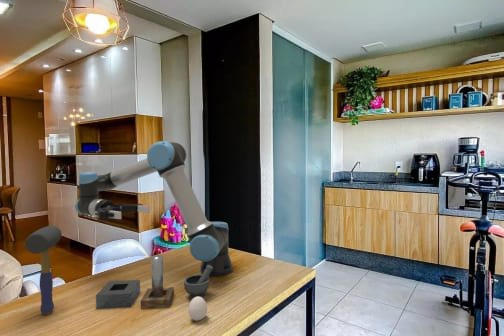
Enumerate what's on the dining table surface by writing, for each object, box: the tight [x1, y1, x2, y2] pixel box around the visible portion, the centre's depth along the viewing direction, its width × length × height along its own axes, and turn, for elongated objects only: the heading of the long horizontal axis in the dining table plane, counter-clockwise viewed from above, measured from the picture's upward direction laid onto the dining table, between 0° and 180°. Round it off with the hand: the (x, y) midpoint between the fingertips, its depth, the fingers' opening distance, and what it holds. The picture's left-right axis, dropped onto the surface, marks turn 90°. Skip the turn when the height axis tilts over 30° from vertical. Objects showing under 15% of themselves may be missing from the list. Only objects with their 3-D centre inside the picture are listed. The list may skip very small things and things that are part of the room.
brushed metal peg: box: [150, 254, 164, 298], centre depth 111 cm, size 4×4×16 cm
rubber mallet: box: [24, 225, 63, 315], centre depth 103 cm, size 12×8×30 cm, turn 13°
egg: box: [188, 296, 208, 321], centre depth 99 cm, size 6×6×8 cm
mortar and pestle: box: [183, 265, 213, 302], centre depth 115 cm, size 11×9×12 cm
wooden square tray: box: [140, 286, 175, 310], centre depth 111 cm, size 10×10×3 cm
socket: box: [95, 279, 141, 310], centre depth 113 cm, size 12×12×5 cm
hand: (135, 212), depth 119 cm, fingers open, 13 cm apart
